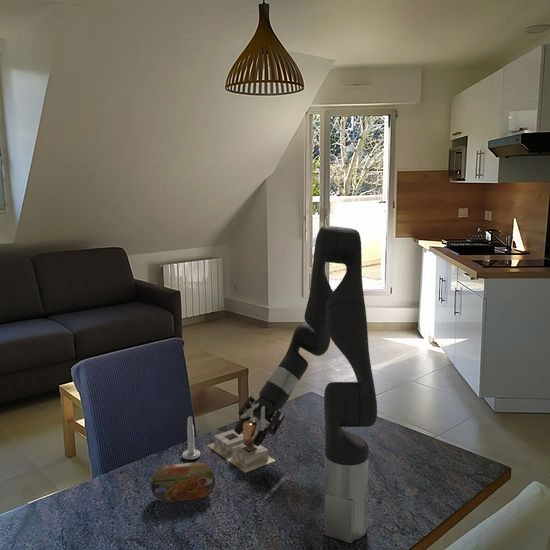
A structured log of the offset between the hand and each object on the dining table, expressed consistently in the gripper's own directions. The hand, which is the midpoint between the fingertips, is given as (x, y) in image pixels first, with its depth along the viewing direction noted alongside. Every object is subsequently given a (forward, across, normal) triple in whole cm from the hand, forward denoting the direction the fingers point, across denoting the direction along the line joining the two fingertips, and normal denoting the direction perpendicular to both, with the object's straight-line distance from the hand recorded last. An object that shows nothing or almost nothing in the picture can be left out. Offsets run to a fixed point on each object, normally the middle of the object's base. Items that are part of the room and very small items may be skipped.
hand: (245, 438), depth 149 cm
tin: (+20, +3, -9) cm, 22 cm away
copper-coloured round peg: (+3, 0, +5) cm, 6 cm away
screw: (+13, -11, -2) cm, 17 cm away
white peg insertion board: (+4, -4, +6) cm, 9 cm away
